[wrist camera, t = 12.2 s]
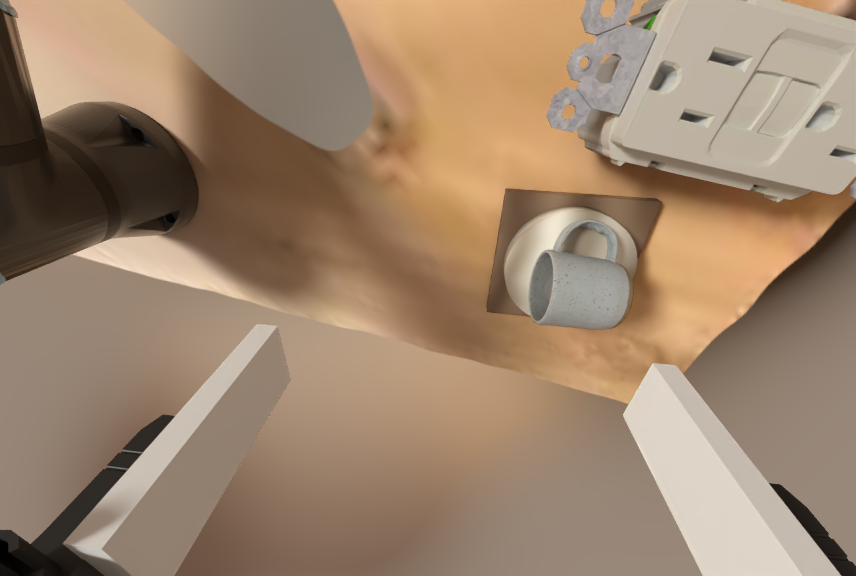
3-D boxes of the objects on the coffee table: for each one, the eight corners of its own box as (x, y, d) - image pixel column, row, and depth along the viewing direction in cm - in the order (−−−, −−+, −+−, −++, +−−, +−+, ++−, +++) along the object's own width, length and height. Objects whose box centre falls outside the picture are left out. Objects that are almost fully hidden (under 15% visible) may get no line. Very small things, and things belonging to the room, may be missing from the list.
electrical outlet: (564, -18, 26) (621, -71, 18) (875, 63, 28) (1061, 50, 20) (516, 135, 32) (541, 150, 24) (774, 194, 34) (883, 228, 26)
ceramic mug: (593, 307, 38) (619, 349, 31) (523, 298, 38) (534, 338, 32) (629, 220, 33) (669, 250, 26) (548, 211, 33) (567, 237, 26)
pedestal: (486, 306, 44) (487, 322, 41) (505, 188, 36) (508, 197, 33) (607, 318, 43) (617, 335, 40) (656, 198, 34) (674, 208, 31)
